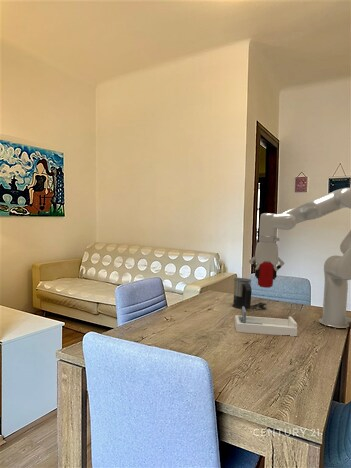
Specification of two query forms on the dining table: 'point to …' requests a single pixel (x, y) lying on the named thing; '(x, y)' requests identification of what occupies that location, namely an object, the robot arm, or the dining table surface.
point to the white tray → (267, 326)
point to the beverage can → (266, 274)
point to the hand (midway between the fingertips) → (265, 278)
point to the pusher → (245, 317)
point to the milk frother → (243, 293)
